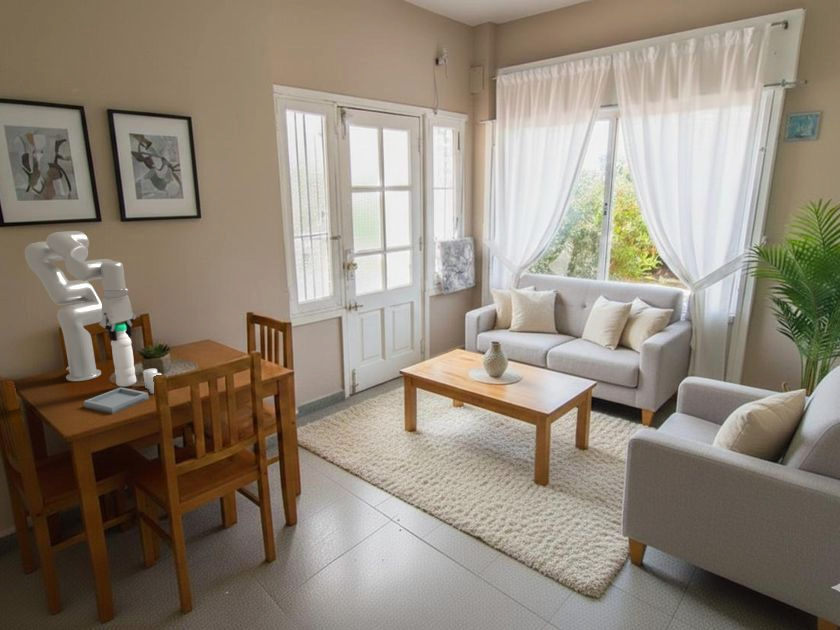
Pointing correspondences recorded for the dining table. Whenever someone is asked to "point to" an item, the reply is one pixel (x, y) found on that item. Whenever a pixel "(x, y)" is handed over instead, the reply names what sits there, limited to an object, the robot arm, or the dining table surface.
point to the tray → (116, 400)
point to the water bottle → (123, 357)
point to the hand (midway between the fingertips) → (120, 337)
